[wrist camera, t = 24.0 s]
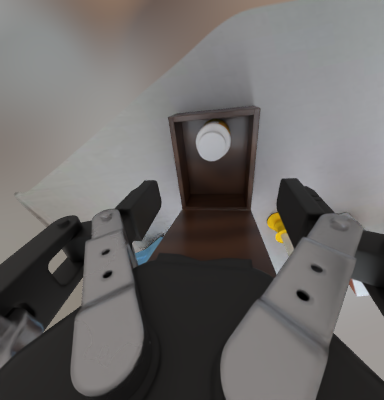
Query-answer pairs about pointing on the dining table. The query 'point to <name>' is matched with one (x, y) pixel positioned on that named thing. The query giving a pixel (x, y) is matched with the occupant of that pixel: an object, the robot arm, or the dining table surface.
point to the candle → (280, 231)
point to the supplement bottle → (213, 140)
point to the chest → (220, 169)
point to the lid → (216, 237)
